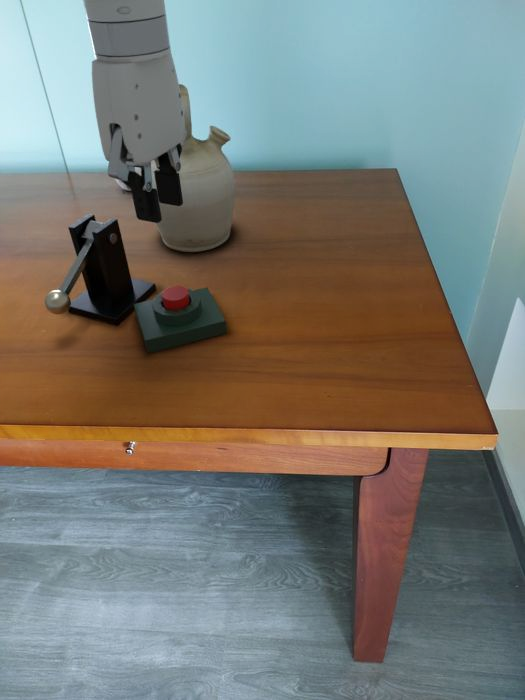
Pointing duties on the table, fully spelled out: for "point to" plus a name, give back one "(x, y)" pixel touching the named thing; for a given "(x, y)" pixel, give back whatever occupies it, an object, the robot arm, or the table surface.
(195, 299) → the button box
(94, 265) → the bracket
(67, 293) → the lever
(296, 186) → the table surface
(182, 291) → the button
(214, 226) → the jug
